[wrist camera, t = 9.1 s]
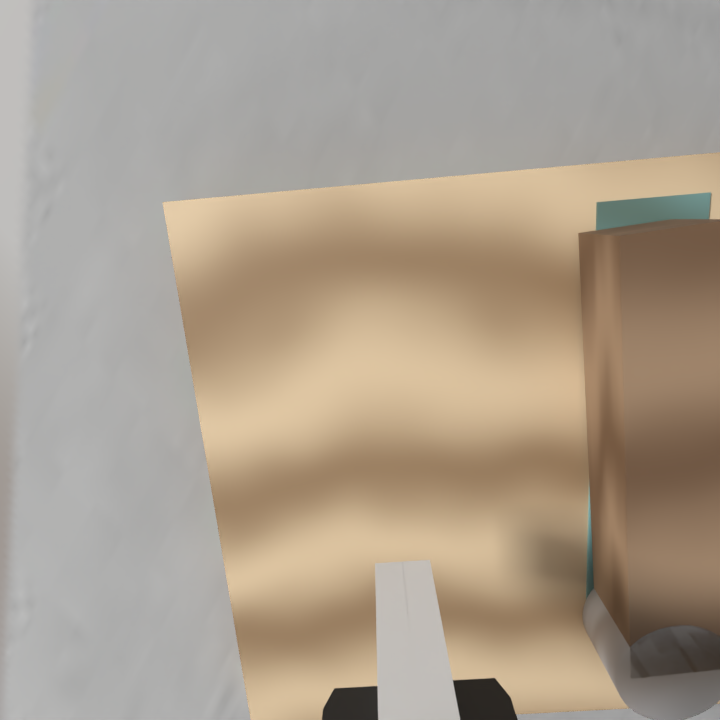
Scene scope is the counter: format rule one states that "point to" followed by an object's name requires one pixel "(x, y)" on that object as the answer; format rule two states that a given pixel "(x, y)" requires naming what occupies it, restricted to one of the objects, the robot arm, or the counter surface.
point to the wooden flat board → (408, 415)
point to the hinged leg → (654, 460)
